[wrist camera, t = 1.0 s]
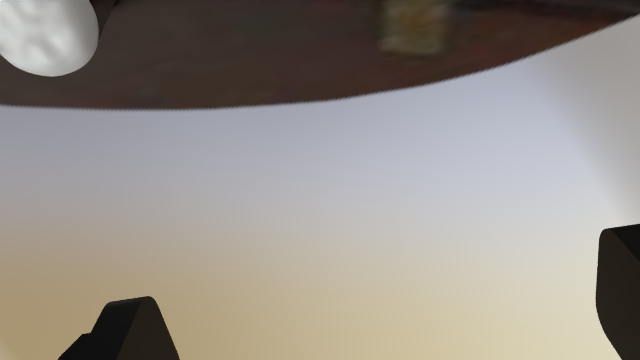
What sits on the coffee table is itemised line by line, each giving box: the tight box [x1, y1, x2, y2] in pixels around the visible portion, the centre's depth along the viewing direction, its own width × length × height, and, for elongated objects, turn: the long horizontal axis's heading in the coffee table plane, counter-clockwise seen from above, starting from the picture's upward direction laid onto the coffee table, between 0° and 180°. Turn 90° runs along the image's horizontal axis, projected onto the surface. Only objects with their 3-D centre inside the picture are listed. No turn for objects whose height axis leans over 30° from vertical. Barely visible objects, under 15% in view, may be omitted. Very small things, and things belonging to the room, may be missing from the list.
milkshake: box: [0, 0, 117, 76], centre depth 25 cm, size 4×5×10 cm
